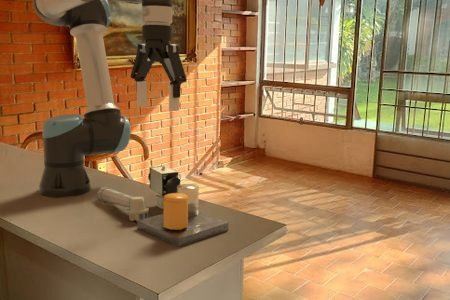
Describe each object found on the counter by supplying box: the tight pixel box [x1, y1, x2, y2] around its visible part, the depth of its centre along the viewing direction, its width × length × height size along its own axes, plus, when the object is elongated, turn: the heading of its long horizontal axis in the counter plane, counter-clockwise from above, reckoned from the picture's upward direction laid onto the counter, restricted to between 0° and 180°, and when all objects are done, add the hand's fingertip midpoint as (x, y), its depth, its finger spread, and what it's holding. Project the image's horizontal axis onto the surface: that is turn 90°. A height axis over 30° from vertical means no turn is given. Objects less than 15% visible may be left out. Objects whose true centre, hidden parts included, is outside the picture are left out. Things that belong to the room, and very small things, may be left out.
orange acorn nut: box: [163, 193, 188, 230], centre depth 117 cm, size 6×6×7 cm
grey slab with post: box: [136, 183, 229, 247], centre depth 122 cm, size 16×16×9 cm
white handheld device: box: [95, 186, 150, 222], centre depth 136 cm, size 5×7×25 cm
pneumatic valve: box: [147, 165, 181, 210], centre depth 139 cm, size 6×12×12 cm, turn 32°
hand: (157, 108), depth 129 cm, fingers open, 13 cm apart
